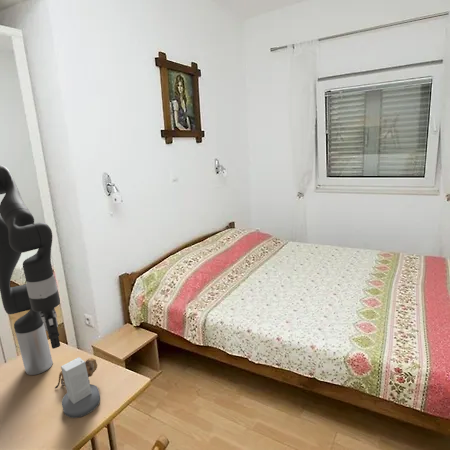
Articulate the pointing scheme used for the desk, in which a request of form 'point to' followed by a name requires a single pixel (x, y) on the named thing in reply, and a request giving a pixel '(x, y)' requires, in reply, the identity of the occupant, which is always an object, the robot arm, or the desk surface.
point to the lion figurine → (90, 367)
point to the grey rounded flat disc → (81, 404)
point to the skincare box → (76, 380)
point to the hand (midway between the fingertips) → (54, 340)
